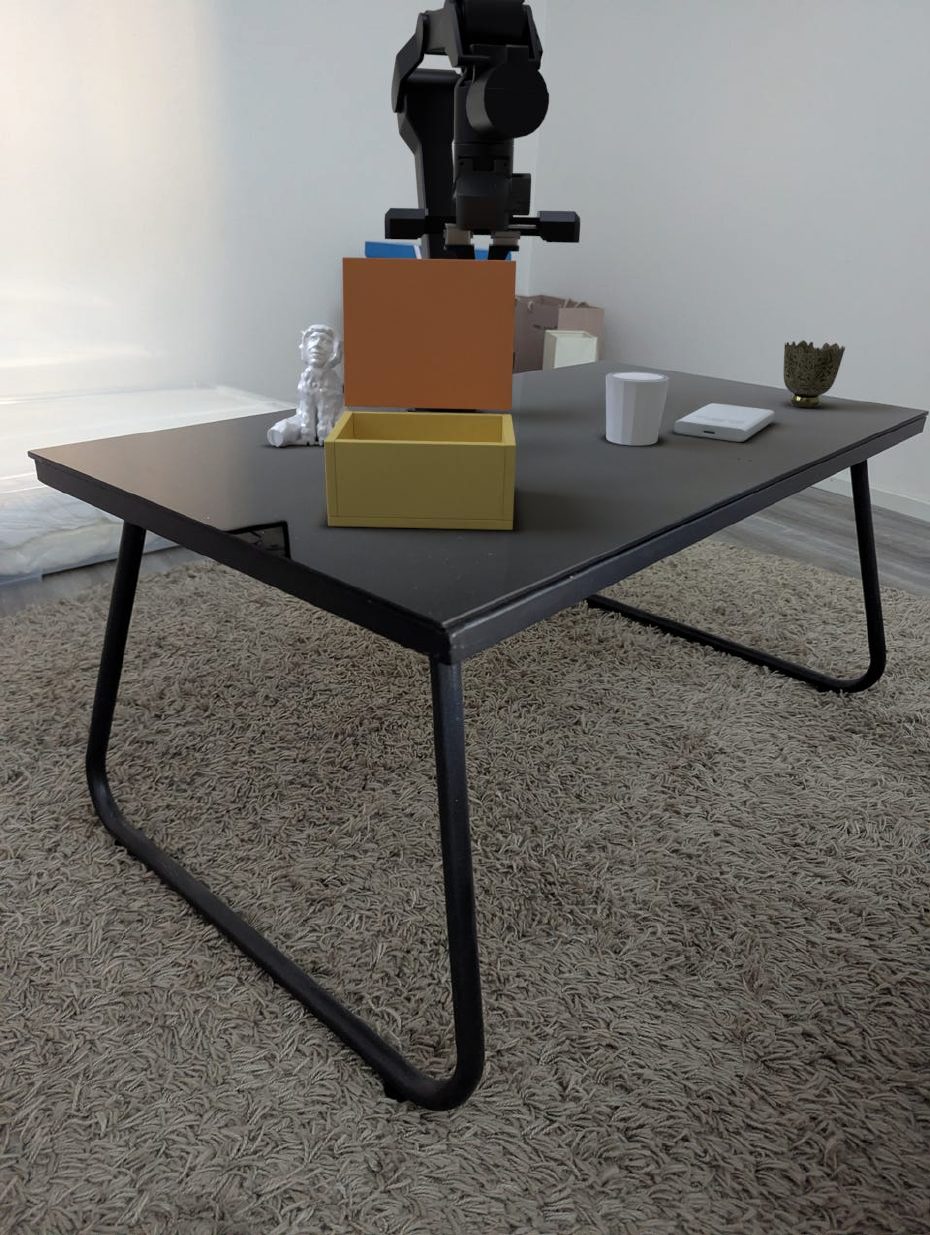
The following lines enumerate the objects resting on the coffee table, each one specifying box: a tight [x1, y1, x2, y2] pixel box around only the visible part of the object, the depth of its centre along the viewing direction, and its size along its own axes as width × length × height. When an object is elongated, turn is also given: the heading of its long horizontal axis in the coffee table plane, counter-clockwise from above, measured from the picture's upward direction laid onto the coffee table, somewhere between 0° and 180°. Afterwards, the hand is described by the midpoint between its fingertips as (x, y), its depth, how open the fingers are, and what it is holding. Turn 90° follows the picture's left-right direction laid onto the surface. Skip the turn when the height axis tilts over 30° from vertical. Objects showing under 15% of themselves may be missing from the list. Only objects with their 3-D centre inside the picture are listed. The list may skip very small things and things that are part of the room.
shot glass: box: [605, 370, 671, 446], centre depth 99 cm, size 7×7×7 cm
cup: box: [783, 339, 846, 409], centre depth 118 cm, size 8×7×8 cm
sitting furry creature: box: [266, 323, 350, 448], centre depth 95 cm, size 10×9×12 cm
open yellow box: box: [323, 410, 517, 531], centre depth 75 cm, size 12×15×7 cm
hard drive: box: [673, 402, 775, 443], centre depth 106 cm, size 2×8×12 cm
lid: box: [341, 256, 517, 411], centre depth 77 cm, size 12×15×1 cm
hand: (480, 318), depth 91 cm, fingers closed
